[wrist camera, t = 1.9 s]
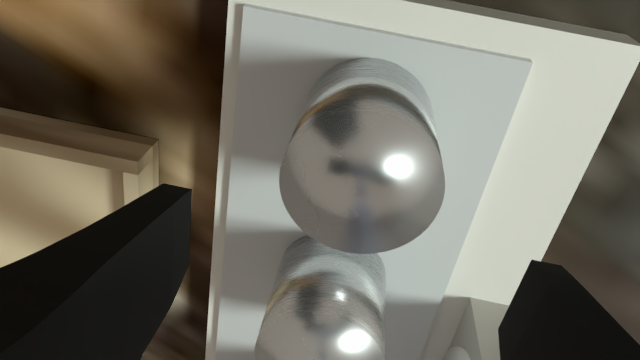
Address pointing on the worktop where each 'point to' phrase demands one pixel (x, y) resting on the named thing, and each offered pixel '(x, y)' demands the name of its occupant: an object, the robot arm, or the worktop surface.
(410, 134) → the cylinder
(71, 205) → the tray
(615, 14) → the worktop surface
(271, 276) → the scale
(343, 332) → the spacer
